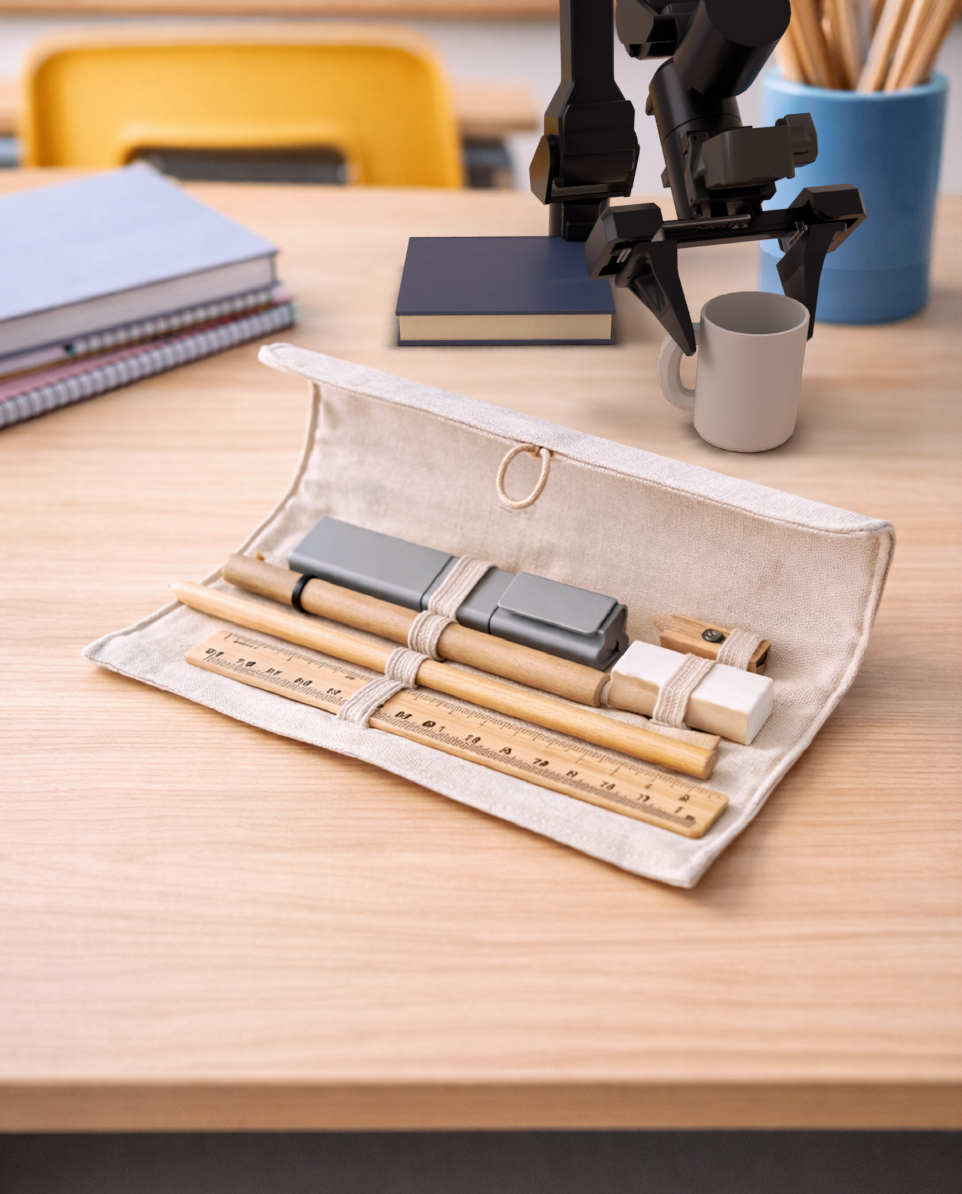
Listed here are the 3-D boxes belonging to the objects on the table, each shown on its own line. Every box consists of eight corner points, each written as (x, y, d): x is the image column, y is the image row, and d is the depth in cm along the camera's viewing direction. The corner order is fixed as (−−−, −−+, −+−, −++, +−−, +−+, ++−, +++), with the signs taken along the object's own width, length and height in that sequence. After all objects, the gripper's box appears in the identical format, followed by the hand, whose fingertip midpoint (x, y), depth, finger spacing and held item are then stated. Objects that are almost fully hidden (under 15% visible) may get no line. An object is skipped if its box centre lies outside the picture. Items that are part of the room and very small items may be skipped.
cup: (793, 458, 83) (809, 339, 77) (648, 447, 85) (654, 330, 79) (795, 407, 88) (810, 293, 83) (659, 399, 90) (665, 287, 85)
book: (410, 267, 114) (409, 236, 112) (599, 266, 113) (601, 235, 112) (397, 345, 99) (395, 311, 97) (614, 344, 99) (615, 310, 97)
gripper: (604, 78, 74) (655, 313, 72) (878, 57, 77) (935, 281, 75) (564, 172, 85) (607, 379, 82) (806, 150, 88) (854, 348, 86)
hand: (749, 347), depth 81 cm, fingers closed on cup, 8 cm apart
